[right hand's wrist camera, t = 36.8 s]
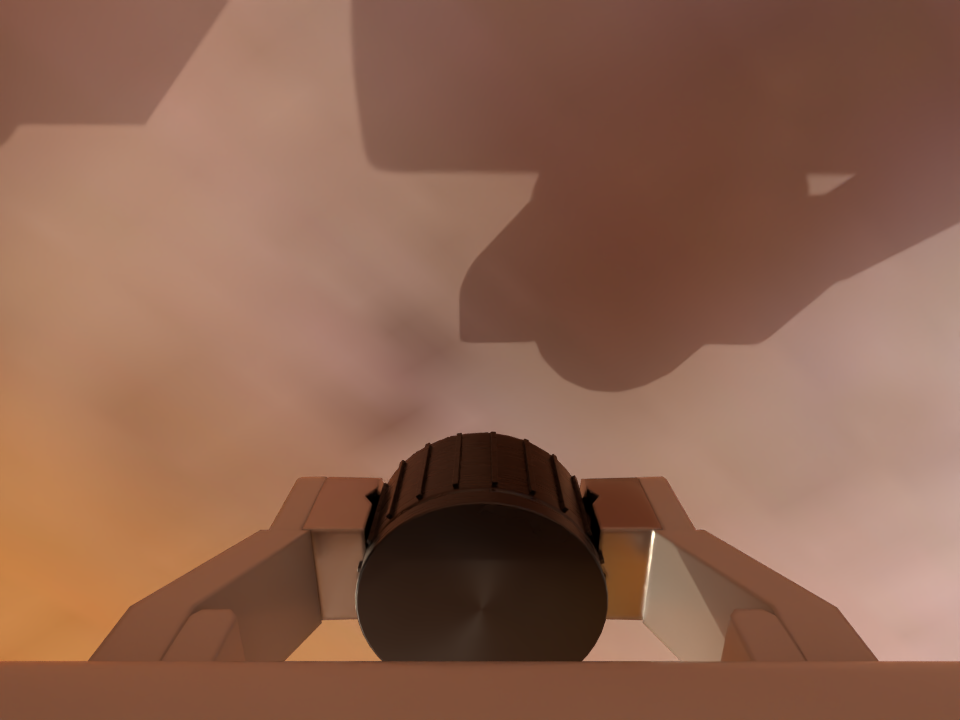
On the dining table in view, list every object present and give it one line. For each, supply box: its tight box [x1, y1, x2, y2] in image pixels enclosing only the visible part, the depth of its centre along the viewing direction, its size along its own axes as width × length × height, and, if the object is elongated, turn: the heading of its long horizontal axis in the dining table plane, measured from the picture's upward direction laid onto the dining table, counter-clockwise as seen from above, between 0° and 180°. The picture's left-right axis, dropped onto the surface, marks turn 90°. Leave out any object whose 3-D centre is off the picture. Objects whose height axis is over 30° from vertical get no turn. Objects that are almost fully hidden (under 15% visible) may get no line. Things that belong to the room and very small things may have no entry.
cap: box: [355, 432, 608, 661], centre depth 9 cm, size 4×4×2 cm
